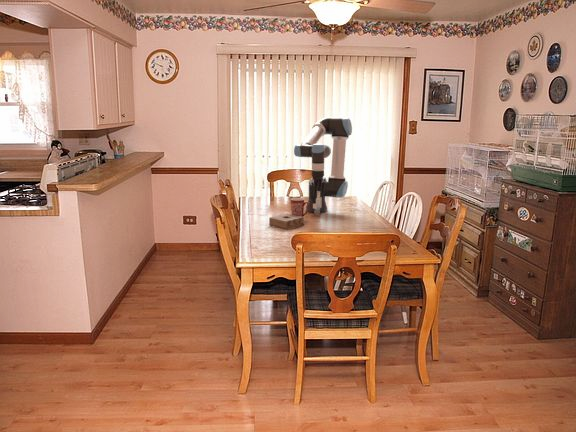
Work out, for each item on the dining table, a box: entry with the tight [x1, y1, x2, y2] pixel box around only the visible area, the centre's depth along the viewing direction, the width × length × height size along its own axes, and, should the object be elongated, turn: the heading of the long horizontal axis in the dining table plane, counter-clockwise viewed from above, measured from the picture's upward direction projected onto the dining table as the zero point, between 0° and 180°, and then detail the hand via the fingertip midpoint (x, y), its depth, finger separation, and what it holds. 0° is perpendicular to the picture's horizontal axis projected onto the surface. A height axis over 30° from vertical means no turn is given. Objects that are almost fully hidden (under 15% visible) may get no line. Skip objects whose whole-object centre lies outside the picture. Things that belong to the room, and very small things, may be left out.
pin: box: [313, 191, 321, 215], centre depth 289 cm, size 3×3×14 cm
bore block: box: [268, 213, 305, 230], centre depth 291 cm, size 16×14×5 cm
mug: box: [290, 197, 310, 218], centre depth 305 cm, size 13×9×14 cm
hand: (317, 207), depth 290 cm, fingers closed on pin, 3 cm apart
